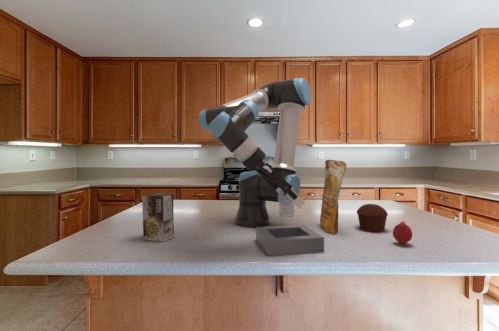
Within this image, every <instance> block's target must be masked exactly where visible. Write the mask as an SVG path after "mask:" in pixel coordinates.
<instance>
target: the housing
mask: <svg viewBox="0 0 499 331" xmlns="http://www.w3.org/2000/svg"><path fill="white" fill-rule="evenodd" d="M255 241H256V242H257V243H258V245H259V246H260V247H261V249H262V250H263V251H264V252H265V254H266V255H267V256H268V257H273V256H275V257H276V256H277V257H278V256H288V255H300V254H311V253H315V254H316V253H324V252H325V237H324V236H323V235H321V234H319V233H318V232H316V231H315V230H313V229H312V228H310V227H309V226H307V225H305V224H294V225H292V224H291V225H277V226H276V225H275V226H260V227H255Z"/></svg>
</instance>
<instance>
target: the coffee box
mask: <svg viewBox="0 0 499 331" xmlns="http://www.w3.org/2000/svg"><path fill="white" fill-rule="evenodd" d="M141 200H142V201H141V202H142V203H141V204H142V227H143V228H142V231H143V233H142V235H143V240H144V241H152V242H153V241H154V242H162V243H165V242H167V241H169V240H171V239H174V238H175V230H174V229H175V227H174V226H175V225H174V218H175V217H174V193H163V192H152V193H148V194H144V195H142V196H141Z"/></svg>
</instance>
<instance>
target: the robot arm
mask: <svg viewBox="0 0 499 331" xmlns="http://www.w3.org/2000/svg"><path fill="white" fill-rule="evenodd" d="M311 100H312V92H311V88H310V85H309V83H308V81H307V80H306V79H305V78H304V77H298V78H297V77H294V78H291V79H285V80H284V79H283V80H279V81H273V82H270V83H267V84H265V85H262V86H261V87H258V88H256V89H254V90H253V91H252V92H250V93H249V94H246V95H244V96H242V97H238V98H236V99H233V100H231V101H228V102H226V103H224V104H221V105H218V106H215V107H212V108H205V109H202V110H201V111H200V112H199V113H198V117H197V121H198V125H199V126H200V128H202V129H203V130H205V131H210V133H211V134H213V136H214V137H215V139H217V140H218V141H219V142H220V143H221V144H222V145H223V146H224V147H225V148H226V149H227V150H228V151H229V152H230V153H231V154H232V158H233V159H235V158H236V159H237V160H238V161H239V162H241V164H242V165H243V166H244V167H245V169H246V170H248V171H243V172H240V174H239V177H238V178H239V180H238V189H239V190H238V193H239V196H238V198H239V199H238V201H239V203H238V209H237V211H236V215H235V219H234V221H235V224H236V225H237V226H240V227H246V228H256V227H266V226H268V225H270V223H271V222H270V220H271V219H270V215H269V212H268V210H267V209H268V208H267V206H266V205H267V203H266V202H273V203H279V190H280V189H281V190H282V191H283V192H284V194H283V195H284V196H285V195H286V196H287V197H288V198H289V199H290V200H291V201H292V202H293V203H294V206H296V207H297V208H298V209H301V208H302V206H304V204H305V203H306V201H305V200H304V199H302V197H301V196H300V195H299V193H300V191H301V186H302V184H301V178H300V176H299V175H298V174H297V170H296V169H295V168H294V165H295V158H296V150H297V144H298V143H297V141H298V135H299V134H298V133H299V127H300V126H299V125H300V119H301V114H302V113H304V112H305V108H306V107H305V106H308V105H310V104H311V102H312V101H311ZM267 109H268V110H269V109H277V110H278V111H279V112H280V113H279V119H278V121H279V122H278V127H277V134H276V142H275V147H274V148H275V149H274V155H273V160H272V161H273V162H272V165H271V164H270V163H268V162H267V163H266V162H264V159H265V158H266V153H265V152H264V151H263V150H262V148H260V147H259V146H258V144H257V143H256V142H255V141H254V140H253V139H252V138H251V136H249V135H248V134H247V132H245V131H246V130H247V129H248V128H249V127H250V126H251V125H252V124H253V123H255V121H256V119H257V118H258V116H259V113H260V112H259V111H264V110H267ZM292 187H294V190H293V189H292Z"/></svg>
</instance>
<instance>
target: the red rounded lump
mask: <svg viewBox="0 0 499 331" xmlns="http://www.w3.org/2000/svg"><path fill="white" fill-rule="evenodd" d="M392 236H393V238H394V239H395V241H396V242H398V243H399V244H400V245H405V244H407V243H408V242H410V241H411V240H412V238H413V231H412V228H411V227H410V226H409V225H407V224H406V222H405V220H401V221H400V222H399V223H398V224H396V225H395V226H394V227H393V229H392Z"/></svg>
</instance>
